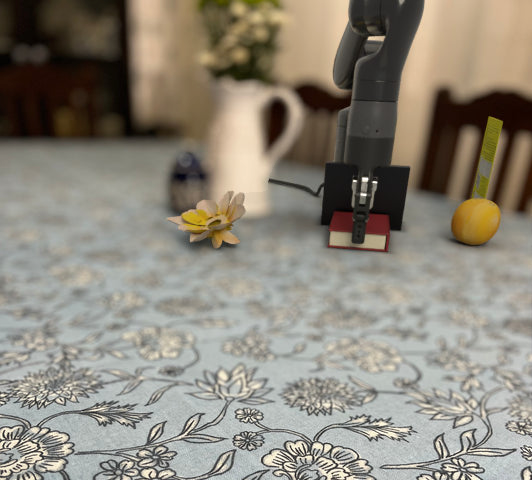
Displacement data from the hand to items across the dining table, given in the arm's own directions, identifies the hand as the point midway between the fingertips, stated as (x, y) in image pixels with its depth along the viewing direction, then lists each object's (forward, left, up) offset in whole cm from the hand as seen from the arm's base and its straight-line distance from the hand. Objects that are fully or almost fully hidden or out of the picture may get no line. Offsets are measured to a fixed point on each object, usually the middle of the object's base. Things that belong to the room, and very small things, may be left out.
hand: (357, 242), depth 89 cm
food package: (+1, +41, -2) cm, 41 cm away
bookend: (-11, +17, -2) cm, 20 cm away
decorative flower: (-22, -15, -2) cm, 27 cm away
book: (-5, +7, -2) cm, 9 cm away
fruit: (+10, +22, -2) cm, 24 cm away
